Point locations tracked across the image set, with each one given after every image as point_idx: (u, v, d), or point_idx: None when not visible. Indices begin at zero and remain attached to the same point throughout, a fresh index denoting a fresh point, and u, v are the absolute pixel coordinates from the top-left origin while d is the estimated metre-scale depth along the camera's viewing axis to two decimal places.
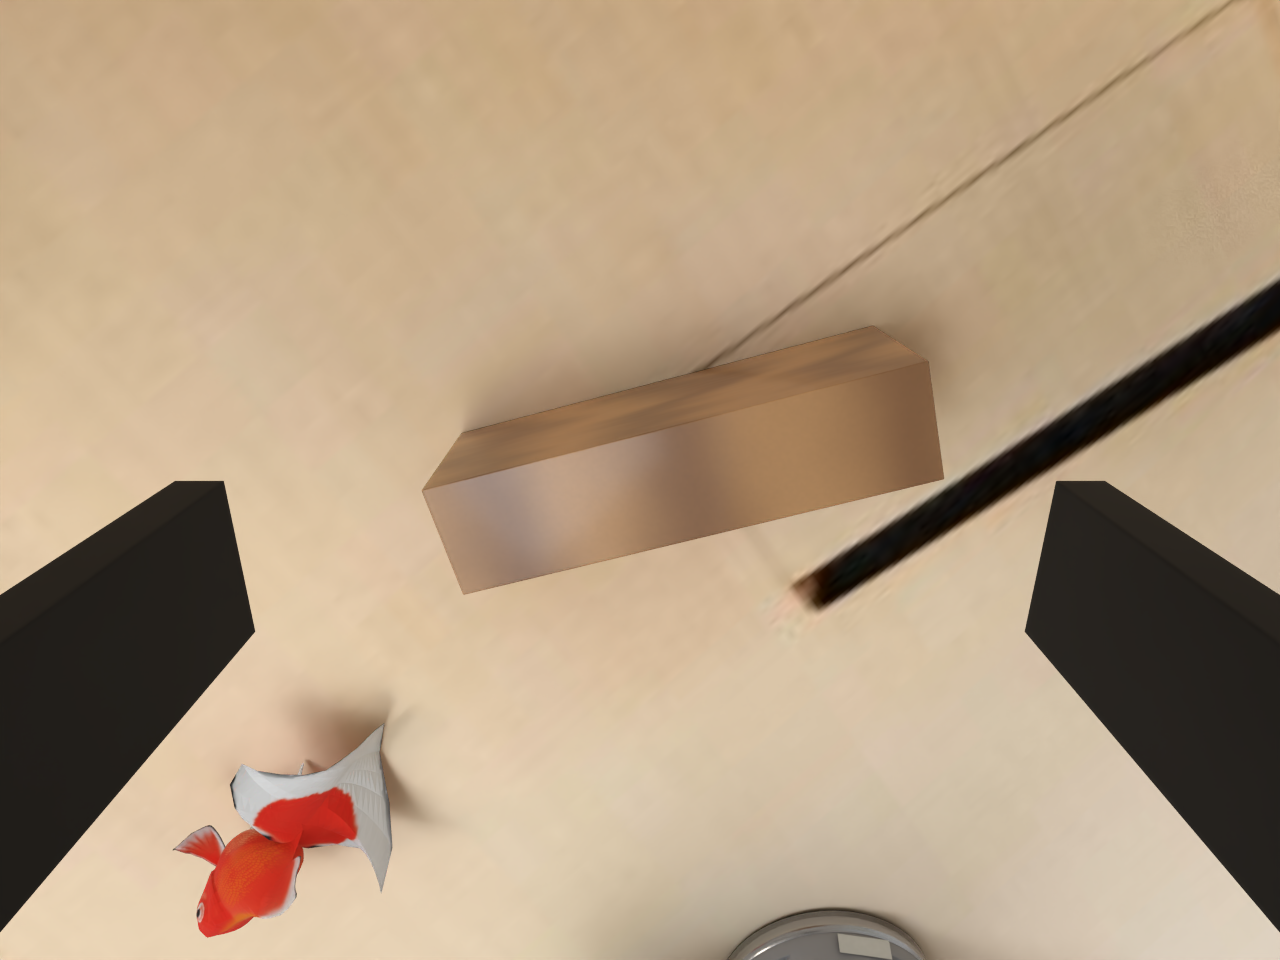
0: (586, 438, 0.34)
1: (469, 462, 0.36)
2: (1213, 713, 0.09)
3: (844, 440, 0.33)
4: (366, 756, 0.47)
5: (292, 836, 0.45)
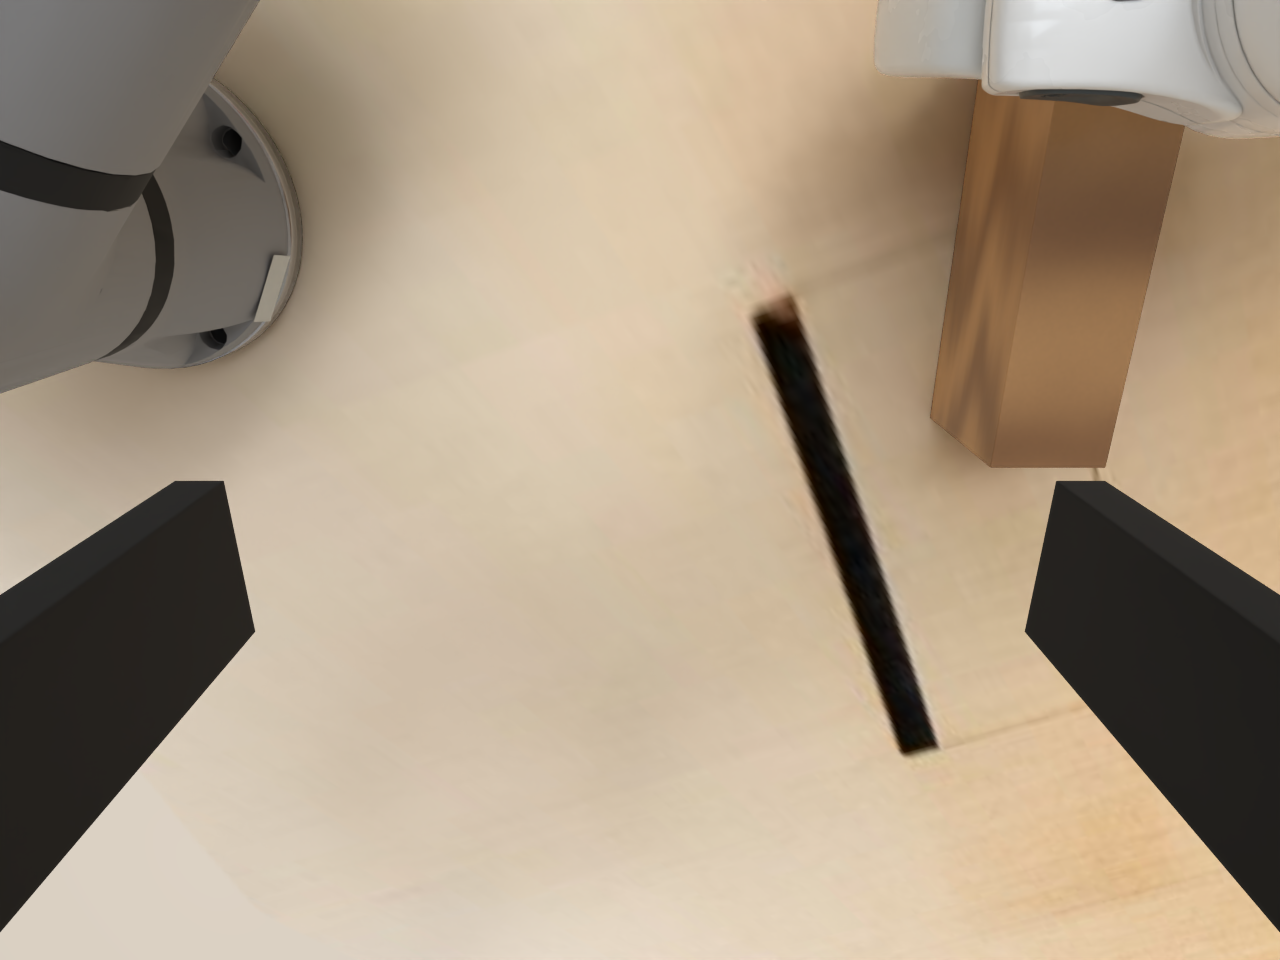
0: None
1: None
2: (1213, 713, 0.09)
3: (1069, 386, 0.35)
4: None
5: None
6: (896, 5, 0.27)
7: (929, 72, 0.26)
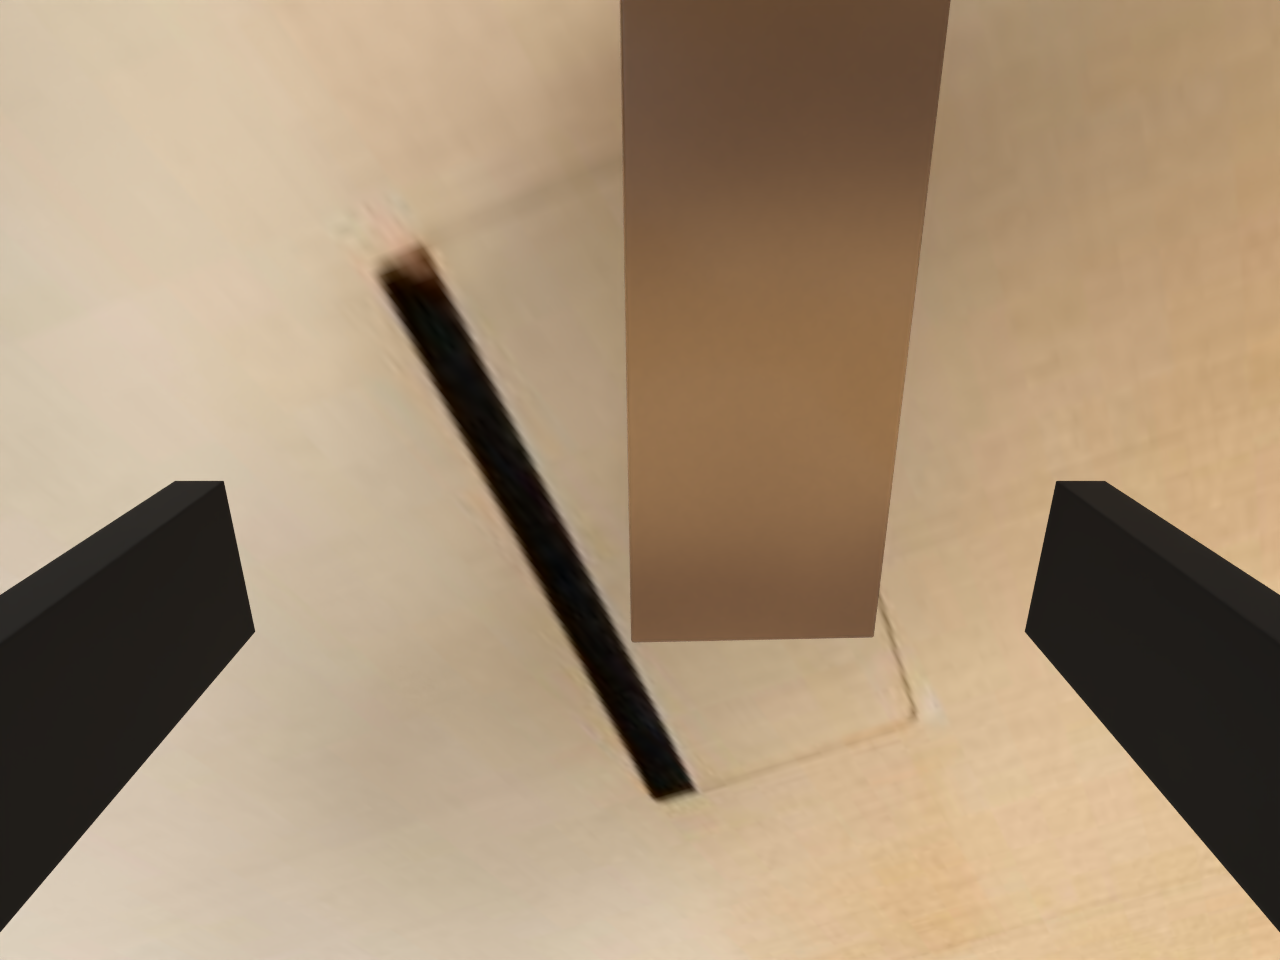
0: None
1: None
2: (1213, 713, 0.09)
3: (772, 478, 0.16)
4: None
5: None
6: None
7: None
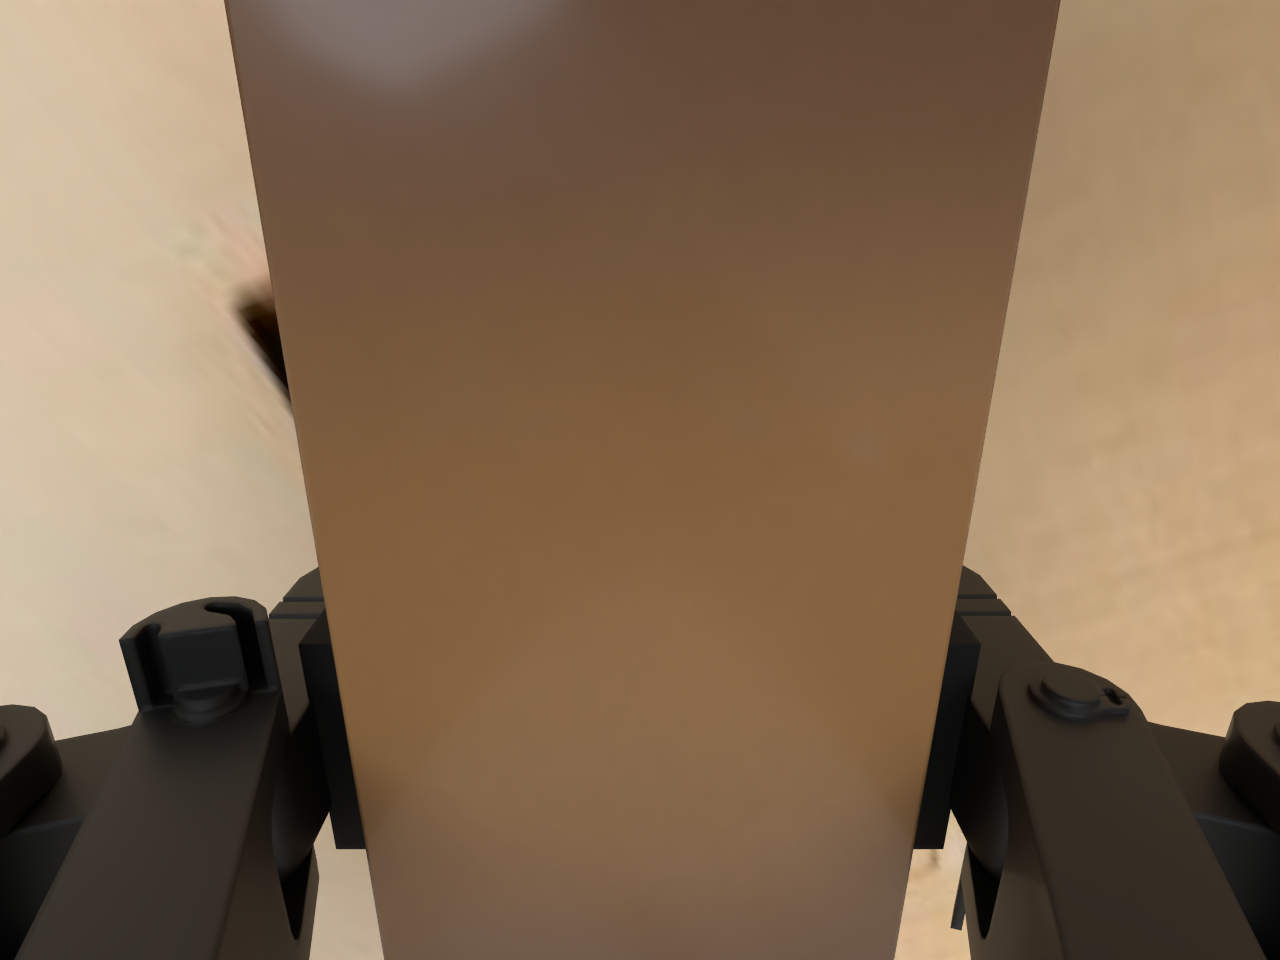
0: None
1: None
2: None
3: (663, 812, 0.07)
4: None
5: None
6: None
7: None
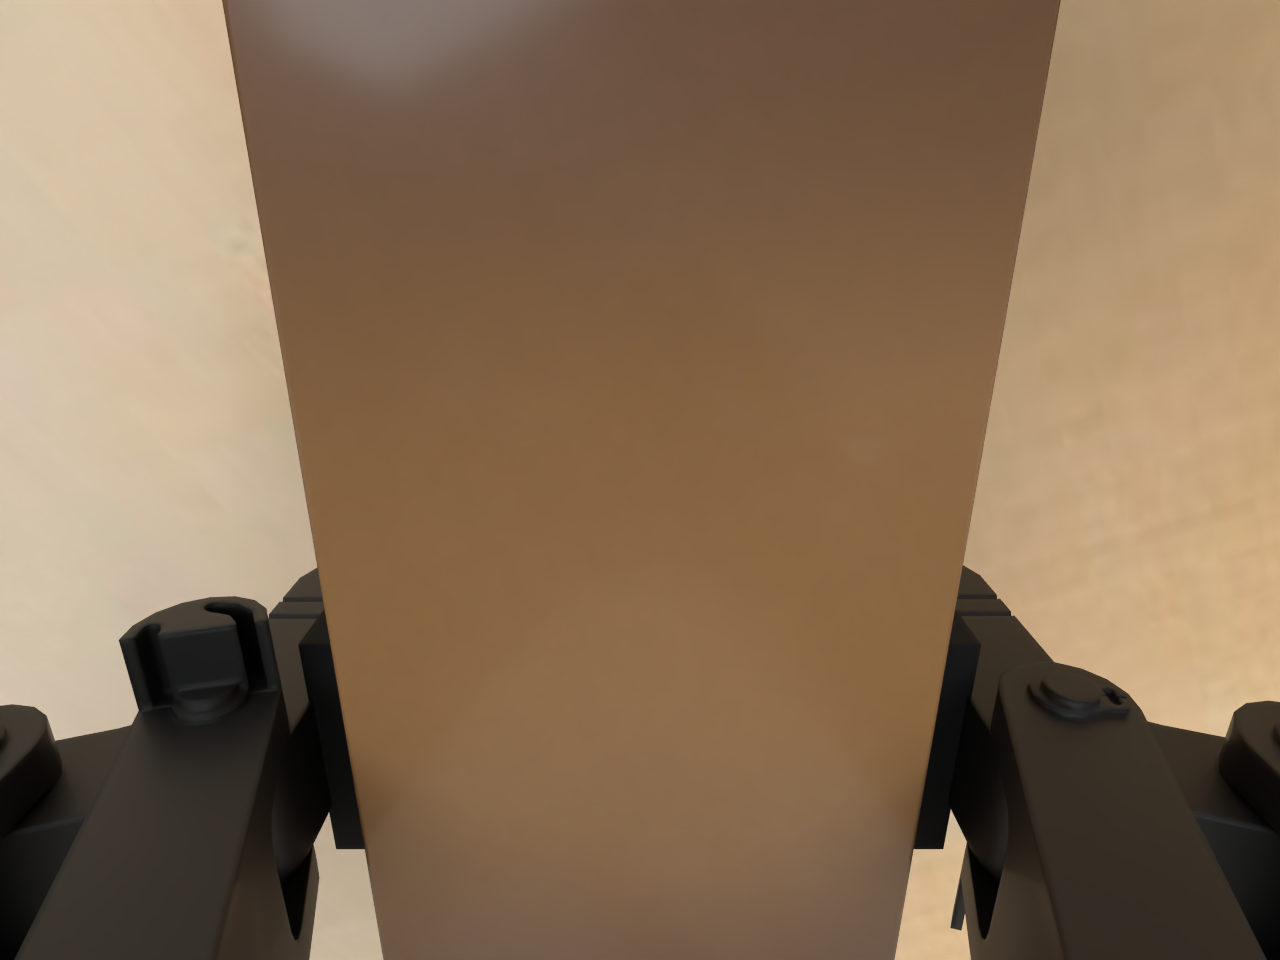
0: None
1: None
2: None
3: (662, 813, 0.07)
4: None
5: None
6: None
7: None
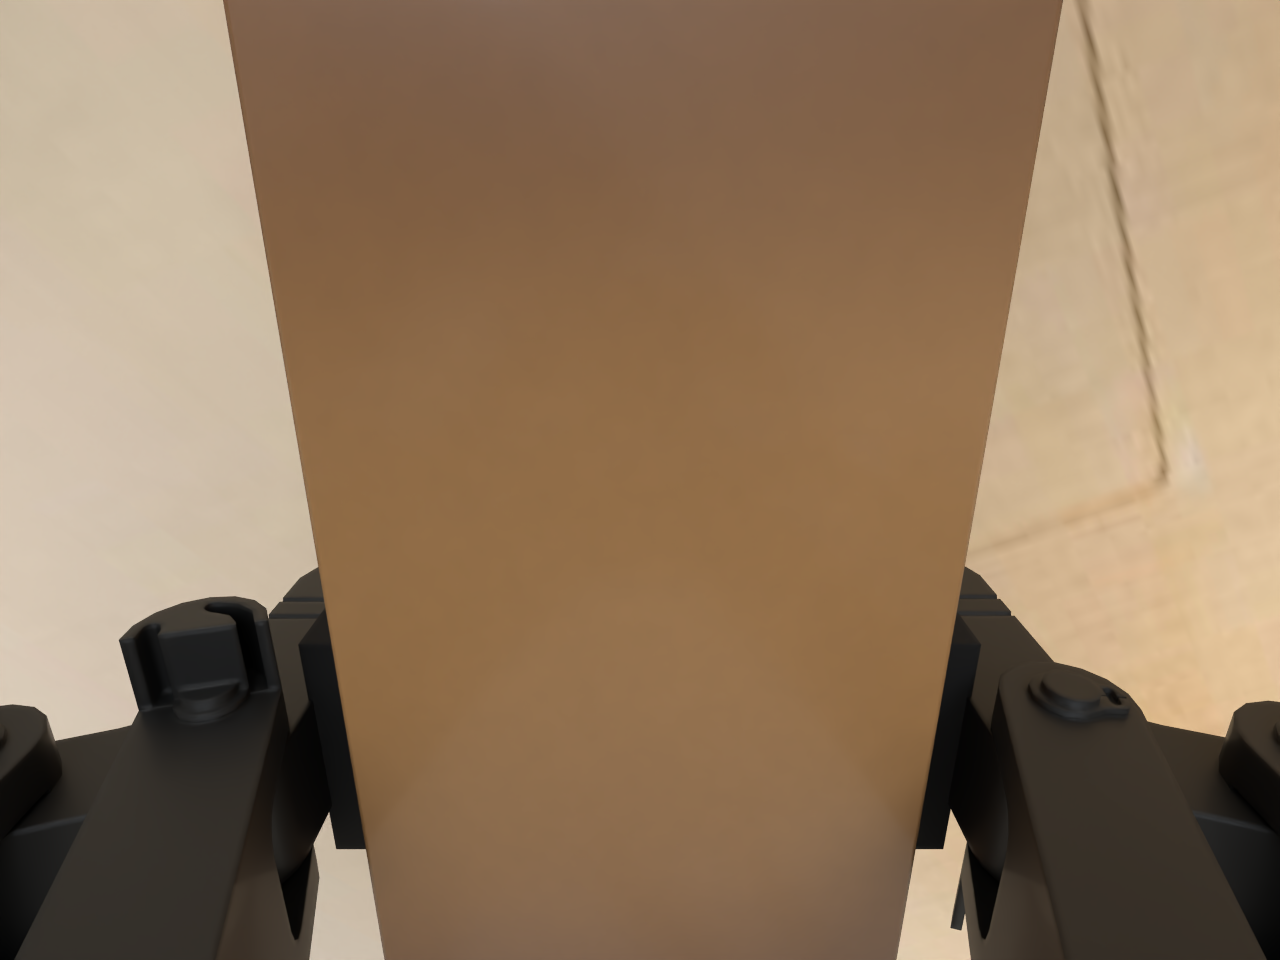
0: None
1: None
2: None
3: (664, 812, 0.07)
4: None
5: None
6: None
7: None
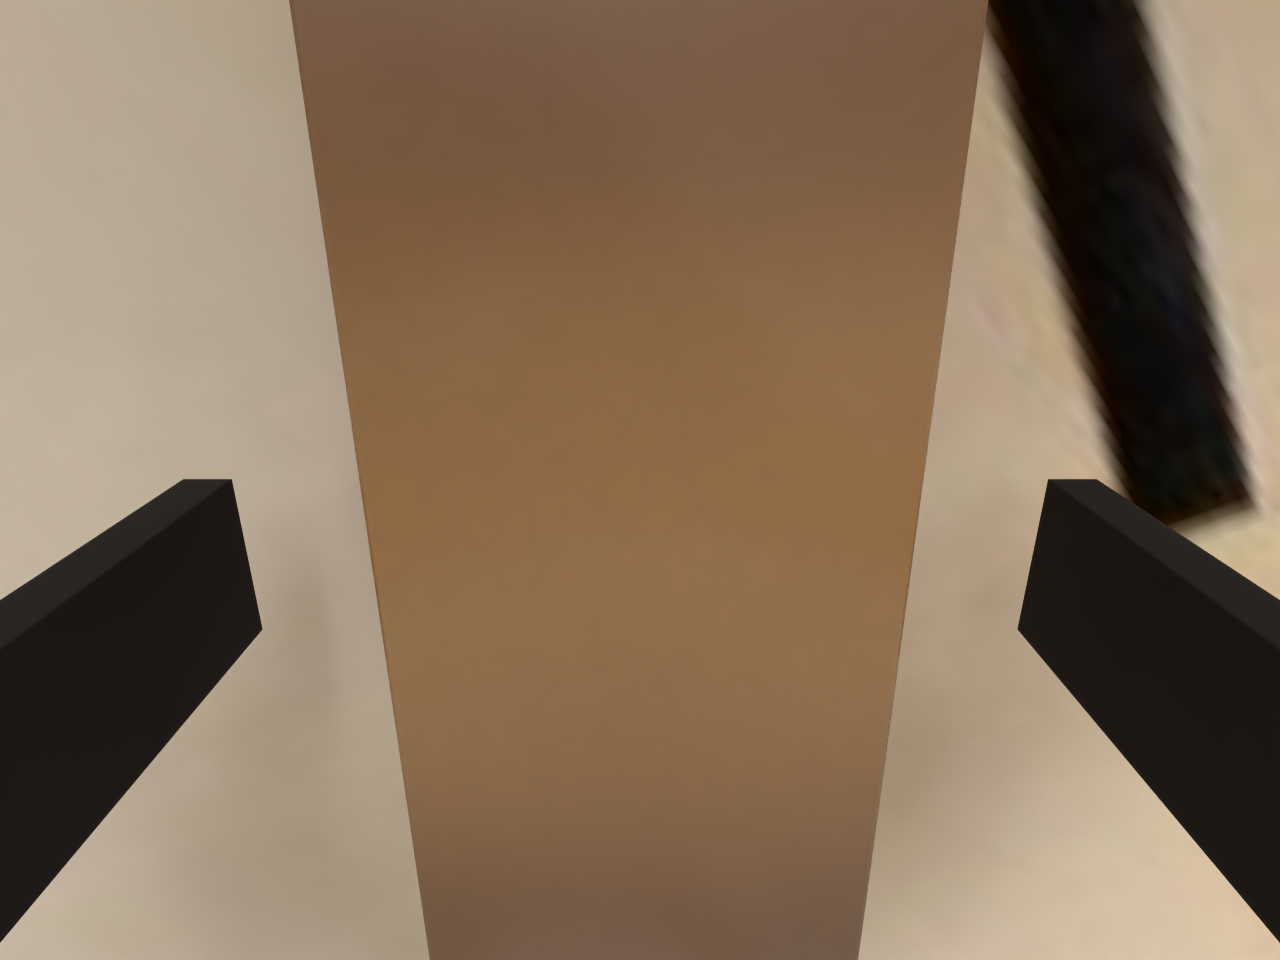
0: None
1: None
2: (1200, 709, 0.09)
3: (662, 738, 0.08)
4: None
5: None
6: None
7: None
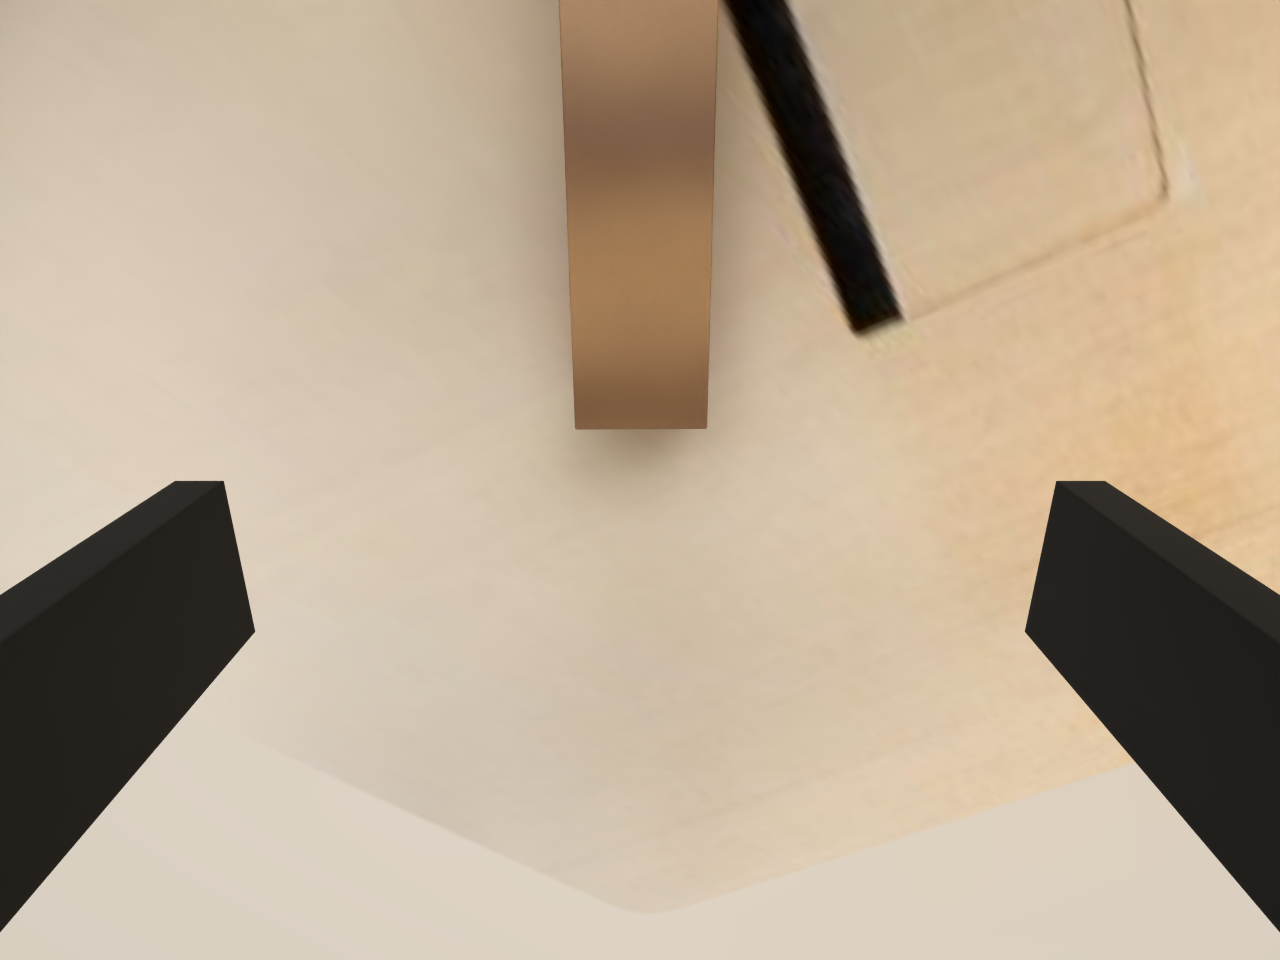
0: None
1: None
2: (1212, 713, 0.09)
3: (646, 334, 0.30)
4: None
5: None
6: None
7: None
